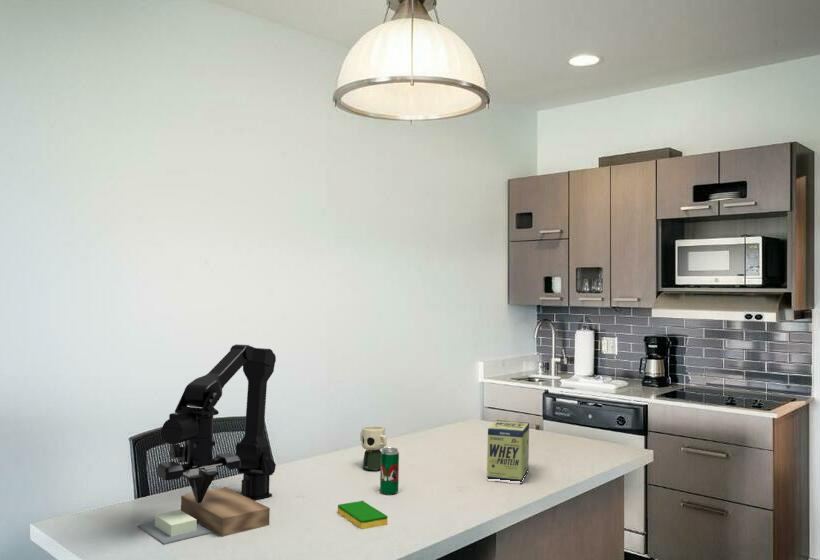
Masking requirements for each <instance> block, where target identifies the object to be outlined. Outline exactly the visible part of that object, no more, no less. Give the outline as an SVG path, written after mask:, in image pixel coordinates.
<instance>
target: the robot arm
mask: <svg viewBox="0 0 820 560" xmlns="http://www.w3.org/2000/svg"><path fill="white" fill-rule="evenodd" d="M276 360H277V357H276V354H275V353H274V352H273V350H272V349H271V348H262V347H254V346H253V345H249V344H239V343H238V344H234V345H232V346H231V347H230V348H229V351H228V352H227V354H226V355H224V357H222V359H221V360H219V362H217V363H216V364H215V366H214V367H212V368H211V370H210V371H209V372H208V373H207V374H205V375H202V376H200V377H196V378H195V379H194V380H191V382H190V383H187V385H186V386H185V388H184V391H183V393H182V395H181V397H180V399H179V401H178V403H177V405H176V408H175V409H174V412H172V413H169V415H168V419H167V420H166V421H165V422H163V424H162V427H161V431H160V432H161V436H162V439H163V441H164V442H165V443H167V445H168V444H169V457H170V459H171V460H174V459H177V462H175V461H168V462H162V463H159V464H158V465H157V466H156V471H155V472H156V476H157V477H158V478H161V479H162V480H164V481H174V480H179V479H181V478H185V479H186V480H187V481H188V483H189V486H190V487H191V490H192V494H194V497H195V500H196V502H197V503H201V502H202V500H203V498H204V496H205V494H206V492H207V491H209V490H208V489H209V488H210V485H211V484H212V482H213V481H214V479H215V478H216V476H219V473H220V472H218V471H217V468H218V467H224V466H225V467H226V468H227V470H230V471H231V470H237V473H238V474H242V477H243V478H242V480H241V492H239V494H241V495H243V496H245V497H247V498H250V499H252V500H254V501H256V500H261V499H265V498H269V497H273V494H272V493H271V492H270V476H272V475H274V473H275V471H276V466H277V465H276V462H275V461H274V460H273V459H272V457H271V455H270V445H269V443H268V442H267V440H266V438H265V434H264V433H265V419H266V417H265V415H266V402H267V387H268V380H269V379H270V377H271V376H272V375H273V373H274V370H275V367H276V366H275V365H276ZM241 368H242V372H243V373H244V376H245V378H246V379H247V394H246V395H247V397H246V410H245V425H244V435H243V438H241V440H240V442H237V443H236V444H235V454H233V453H231V452H225V453H220V454H216V456H215V458H214V457H213V452H214V451H213V446H214V447H215V446H216V441H215V440H214V439H213V438H214V416H217V415H219V413H220V412H219V411H218V409H216V408H215V406H216V405H217V403H218V402H219V401H220V399H221V398H222V396H223V388H224V387H225V385H226V384H228V382H229V381H230V380H231V379H232V378H233V377H234V376H235V374H237V372H238V371H239V370H240V369H241ZM181 443H184V446H181ZM180 463H183V464H180Z"/></svg>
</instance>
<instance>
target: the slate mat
mask: <svg viewBox="0 0 820 560" xmlns="http://www.w3.org/2000/svg"><path fill="white" fill-rule="evenodd" d="M137 528H140V529H141V530H143V531H144V532H145V533H147V534H148V535H149V536H151V537H152V538H154V539H155V540H156V541H158V542H160V543H161V544H163V545H167V544H168V545H169V544H173V543H176V542H180V541H185V540H188V539H193V538H197V537H201V536H205V535H209V534H212V530H211V531H210V529H208V528H207V527H206V528H205V526H203V525H202V524H201V525H200V523H197V531H193V532H188V533H184V534H180V535H176V536H172V537H171V536H169V535H168V534H166V533H165V532H163V531H162V530H160V529H159V528H157V527H156V526H155V520H154V521H151V522H146V523H141V524H137Z"/></svg>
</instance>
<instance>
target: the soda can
mask: <svg viewBox="0 0 820 560" xmlns="http://www.w3.org/2000/svg"><path fill="white" fill-rule="evenodd" d="M399 463H400V452H399V451H398V448H397V447H391V446H390V447H384V448H382V449H381V467H380V472H379V473H380V474H379V475H380V476H379V477H380V478H379V479H380V480H379V481H380V483H379V491H380V492H381V494H383V495H386V494H392V495H395V493H396V494H397V493H398V492H399V485H400V484H399V481H400V480H399V479H400V478H399V477H400V476H399V475H400V474H399V473H400V464H399Z"/></svg>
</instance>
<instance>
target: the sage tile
mask: <svg viewBox="0 0 820 560" xmlns="http://www.w3.org/2000/svg"><path fill="white" fill-rule="evenodd" d="M154 521H155V526H156V527H157V528H159V529H160V530H162V531H163V532H165V533H166V534H168V535H169V536H171V537H172V536H176V535H180V534H184V533H188V532H193V531H197V524H198V522H197V519H195V518H193V517H191V516H190V515H188V514H186V513H184V512H183V511H181V509H177V510H173V511H169V512H163V513H159V514H155V515H154Z"/></svg>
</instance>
